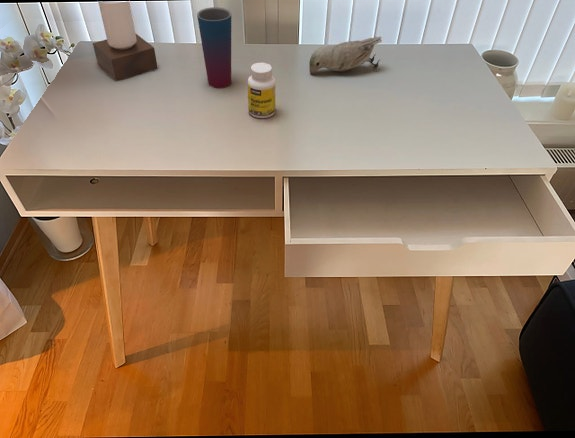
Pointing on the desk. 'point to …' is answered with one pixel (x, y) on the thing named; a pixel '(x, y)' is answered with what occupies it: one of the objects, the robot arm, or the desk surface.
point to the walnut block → (125, 59)
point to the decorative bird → (344, 55)
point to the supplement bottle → (261, 91)
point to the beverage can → (118, 24)
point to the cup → (216, 44)
